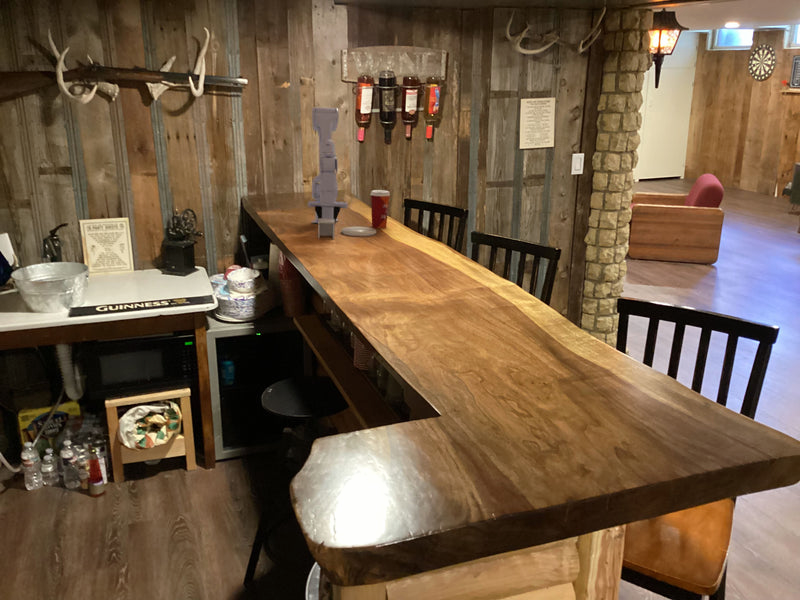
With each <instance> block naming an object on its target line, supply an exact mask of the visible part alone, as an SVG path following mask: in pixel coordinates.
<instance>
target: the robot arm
mask: <svg viewBox="0 0 800 600" xmlns="http://www.w3.org/2000/svg"><path fill="white" fill-rule="evenodd" d="M311 123H312V125H311V126H312V129H313V131H315V132H317V135H318V171H319V172H318V173H319V174H317V175H316V176H314V178H313V179H312V181H311V182H312V183H311V197H312V199H314V200H311V201H310V200H309V201H307V207H308V208H314V211H315V212H314V213H315V216H314V217H315V219H314V220H311V223H312V224H318V221H319V218H321V219H335V223H336V222H338V221H339V219H337V218H338V216H339V213H340V211H341V209H348V202H343V201H336V199H337V198H338V193H339V191H338V188H339V187H338V180H337V174H338V173H337V172H338V169H339V168H338V167H339V166H338V165H339V163H338V158H337V155H336V144H335V142H334V141H333V139H332V136H333V132H335V131H337V128H338V123H339V109H338V107H316V106H313V108H312V109H311Z"/></svg>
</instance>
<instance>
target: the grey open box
mask: <svg viewBox="0 0 800 600" xmlns="http://www.w3.org/2000/svg"><path fill="white" fill-rule="evenodd" d="M317 224H318V226H317V229H318V230H317V235H318V236H317V239H320V238H321V236H323V237H327V236H328V237H329V236H331V237H332V239H333V240H335V228H336V222H335V219H321V218H319V221H318V223H317Z"/></svg>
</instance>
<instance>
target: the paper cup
mask: <svg viewBox="0 0 800 600" xmlns="http://www.w3.org/2000/svg"><path fill="white" fill-rule="evenodd" d="M369 195H370V202H371V204H370V205H371V228H373V229H386V228H387V226H388V225H387V223H388V213H389V212H388V211H389V204H390V203H389V202H390V195H391V194H390V191H388V190H385V189H384V190H383V189H374V190H371V192H370V194H369Z"/></svg>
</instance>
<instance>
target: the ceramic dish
mask: <svg viewBox="0 0 800 600" xmlns="http://www.w3.org/2000/svg"><path fill="white" fill-rule="evenodd" d="M341 234H342V235H345V236H350V237H363V238H364V237H372V236H375V235H377V230H376V228H374V227H367V226H348V227H343V228H341Z"/></svg>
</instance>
